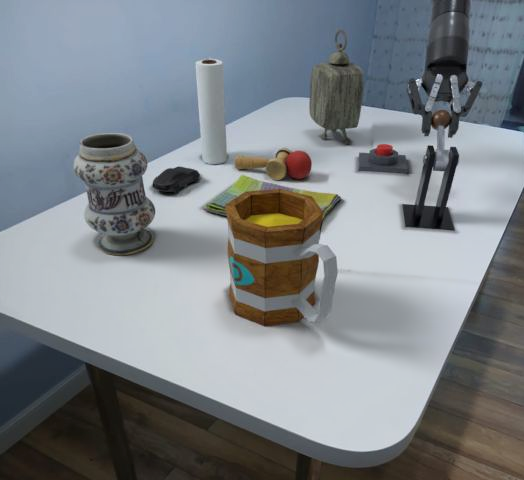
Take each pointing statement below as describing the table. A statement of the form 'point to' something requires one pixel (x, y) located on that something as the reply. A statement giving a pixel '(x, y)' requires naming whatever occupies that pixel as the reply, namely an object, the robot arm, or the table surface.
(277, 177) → the kendama
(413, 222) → the crank bracket
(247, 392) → the table surface
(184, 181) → the toy car
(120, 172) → the apothecary jar
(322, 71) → the tabletop clock
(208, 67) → the paper towel roll
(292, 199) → the mug
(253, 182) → the dish towel
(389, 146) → the button
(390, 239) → the table surface
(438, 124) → the crank
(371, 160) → the button box
